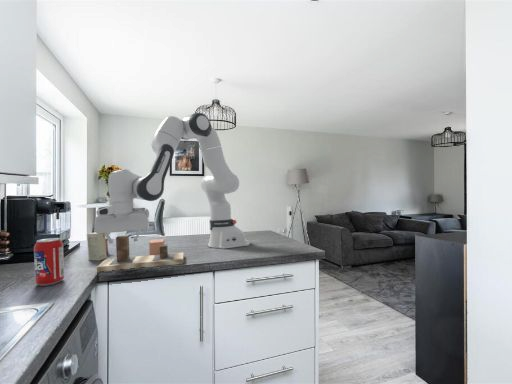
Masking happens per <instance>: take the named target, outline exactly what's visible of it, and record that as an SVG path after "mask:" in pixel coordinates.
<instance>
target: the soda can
mask: <svg viewBox="0 0 512 384" xmlns="http://www.w3.org/2000/svg"><path fill="white" fill-rule="evenodd" d="M33 255H34V256H33V257H34V258H33V259H34V260H33V261H34V282H35V283H34V284H35V285H37V286H41V287H47V286H53V285H56V284H59V283H60V282H61V281H63V280H64V279H65V266H64V265H65V263H64V259H65V258H64V242H63V241H62V240H61V238H60V237H50V238H43V239H42V238H41V239H38V240H36V243H35V244H34V245H33Z"/></svg>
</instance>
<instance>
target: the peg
mask: <svg viewBox="0 0 512 384" xmlns="http://www.w3.org/2000/svg"><path fill="white" fill-rule="evenodd" d="M115 249H116V251H115V253H116V258H117V262H124V261H128V260H129V259H130V257H131V256H130V236H129V235H128V234H126V235H117V236H116V237H115Z"/></svg>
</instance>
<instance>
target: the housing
mask: <svg viewBox="0 0 512 384" xmlns="http://www.w3.org/2000/svg"><path fill="white" fill-rule="evenodd" d="M160 245H165V238H159V239H157V238H156V239H150V241H149V243H148V246H149V247H148V248H149V250H148V251H149V255H159V254H160Z"/></svg>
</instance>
